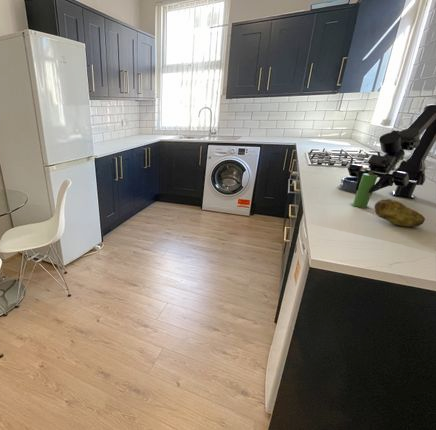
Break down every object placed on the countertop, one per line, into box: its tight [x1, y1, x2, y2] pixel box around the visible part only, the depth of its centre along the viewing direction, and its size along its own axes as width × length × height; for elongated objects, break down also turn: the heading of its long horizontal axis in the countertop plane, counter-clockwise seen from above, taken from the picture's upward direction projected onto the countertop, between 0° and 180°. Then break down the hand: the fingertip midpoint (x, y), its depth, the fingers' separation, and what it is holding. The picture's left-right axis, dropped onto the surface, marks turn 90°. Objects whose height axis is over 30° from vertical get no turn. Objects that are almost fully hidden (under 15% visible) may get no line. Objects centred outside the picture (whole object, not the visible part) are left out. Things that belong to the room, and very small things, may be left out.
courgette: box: [352, 172, 378, 209], centre depth 111 cm, size 4×4×14 cm
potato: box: [374, 198, 426, 228], centre depth 96 cm, size 8×13×8 cm, turn 38°
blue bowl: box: [338, 176, 358, 194], centre depth 133 cm, size 12×12×5 cm
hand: (362, 190), depth 111 cm, fingers closed on courgette, 4 cm apart
